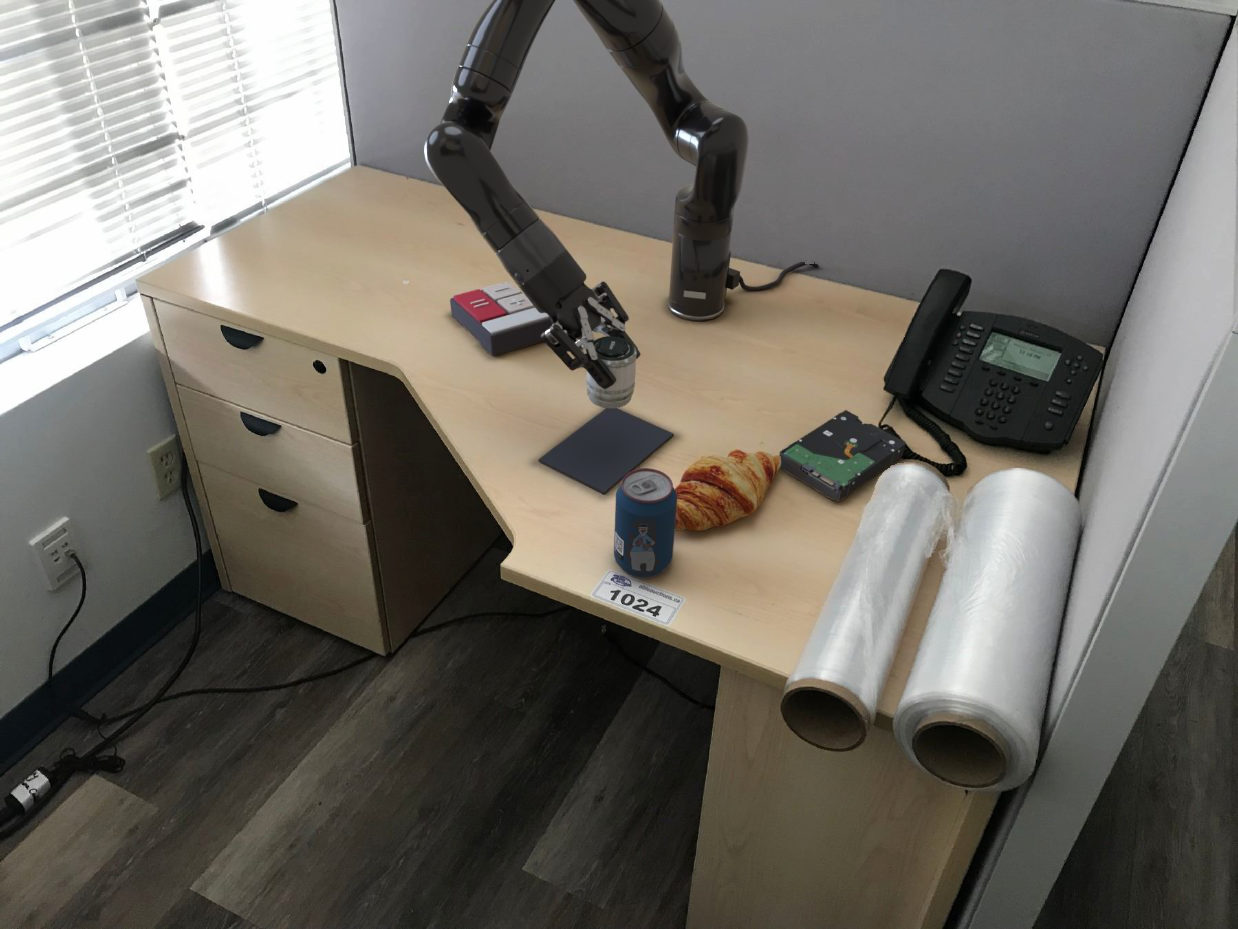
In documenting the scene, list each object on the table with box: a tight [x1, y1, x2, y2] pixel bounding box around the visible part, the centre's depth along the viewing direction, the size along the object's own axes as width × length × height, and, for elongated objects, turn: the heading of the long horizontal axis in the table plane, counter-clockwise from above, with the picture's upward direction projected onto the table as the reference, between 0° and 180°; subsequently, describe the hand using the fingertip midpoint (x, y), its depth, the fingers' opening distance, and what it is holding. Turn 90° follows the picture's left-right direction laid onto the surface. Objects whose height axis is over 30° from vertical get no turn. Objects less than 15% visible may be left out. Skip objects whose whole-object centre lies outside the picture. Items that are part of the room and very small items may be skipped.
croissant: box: [674, 449, 781, 532], centre depth 124 cm, size 21×10×8 cm, turn 133°
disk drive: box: [778, 409, 906, 502], centre depth 132 cm, size 10×3×15 cm
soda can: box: [613, 467, 677, 579], centre depth 114 cm, size 7×7×12 cm
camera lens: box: [585, 336, 637, 409], centre depth 126 cm, size 6×6×8 cm
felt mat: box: [537, 408, 675, 495], centre depth 134 cm, size 16×11×1 cm
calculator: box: [449, 281, 552, 357], centre depth 157 cm, size 11×4×15 cm
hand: (623, 371), depth 125 cm, fingers closed on camera lens, 6 cm apart
